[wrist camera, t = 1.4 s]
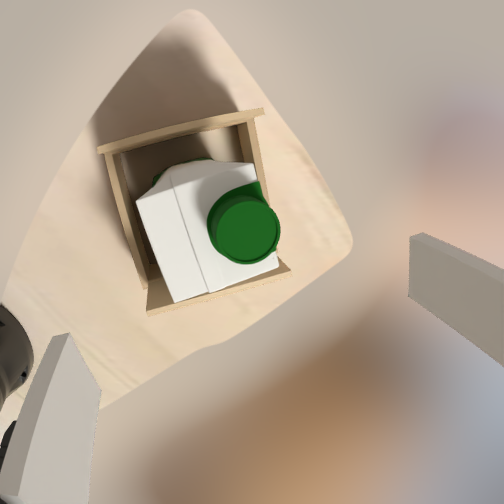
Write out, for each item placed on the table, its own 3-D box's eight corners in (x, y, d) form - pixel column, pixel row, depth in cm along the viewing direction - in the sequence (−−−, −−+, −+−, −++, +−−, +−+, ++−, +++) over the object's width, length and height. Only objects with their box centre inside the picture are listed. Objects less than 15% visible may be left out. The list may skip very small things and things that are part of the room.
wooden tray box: (145, 272, 39) (140, 318, 28) (111, 148, 33) (87, 150, 23) (265, 240, 41) (299, 273, 31) (242, 117, 36) (272, 106, 25)
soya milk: (237, 217, 40) (300, 283, 21) (166, 241, 38) (168, 330, 20) (217, 148, 36) (268, 150, 18) (142, 172, 35) (115, 200, 17)
